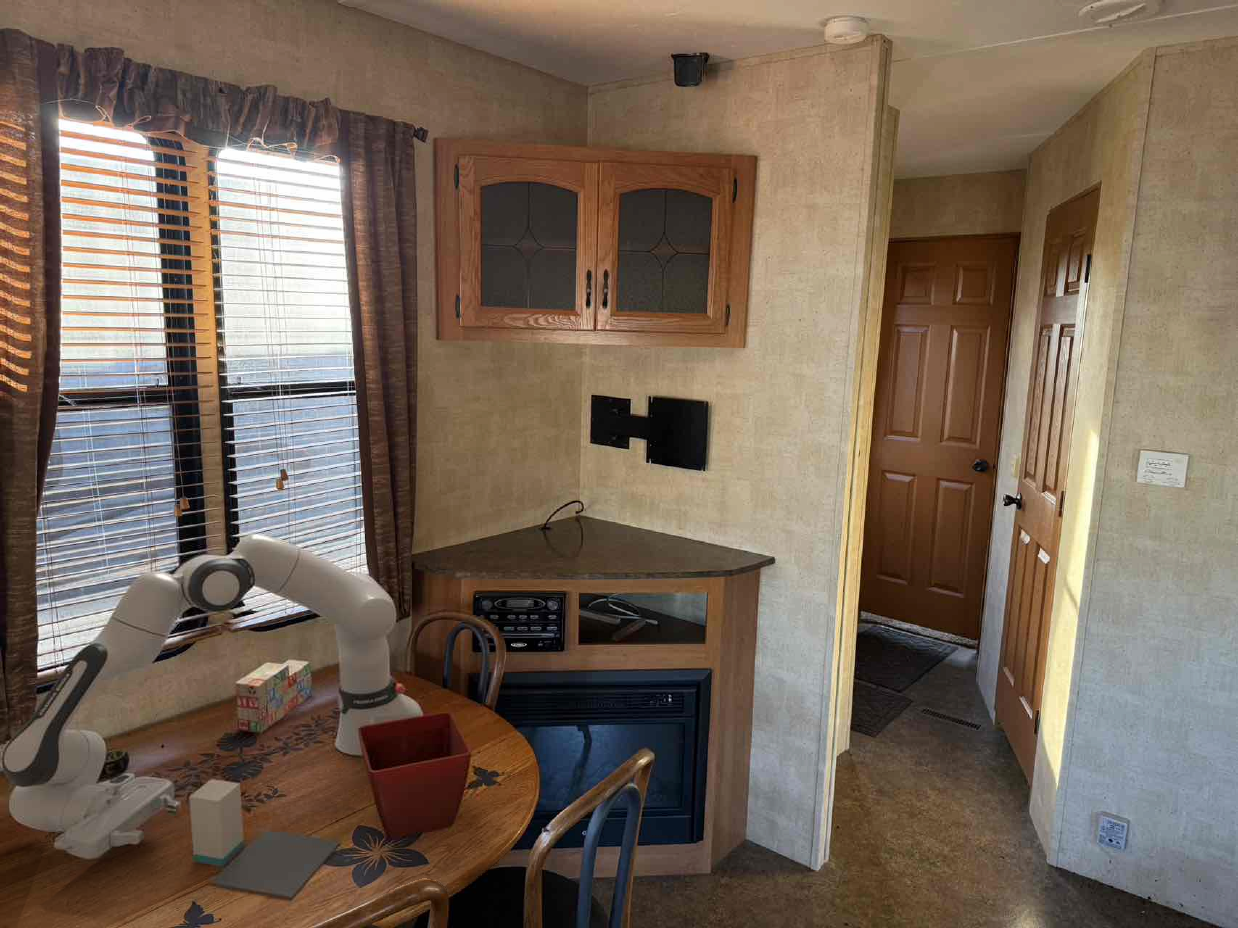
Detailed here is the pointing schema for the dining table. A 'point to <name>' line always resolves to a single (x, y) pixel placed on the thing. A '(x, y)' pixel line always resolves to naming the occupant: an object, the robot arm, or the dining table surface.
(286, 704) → the stack of blocks
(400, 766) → the plant pot
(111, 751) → the tape measure
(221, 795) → the cream block
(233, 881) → the mat
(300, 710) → the dining table surface
